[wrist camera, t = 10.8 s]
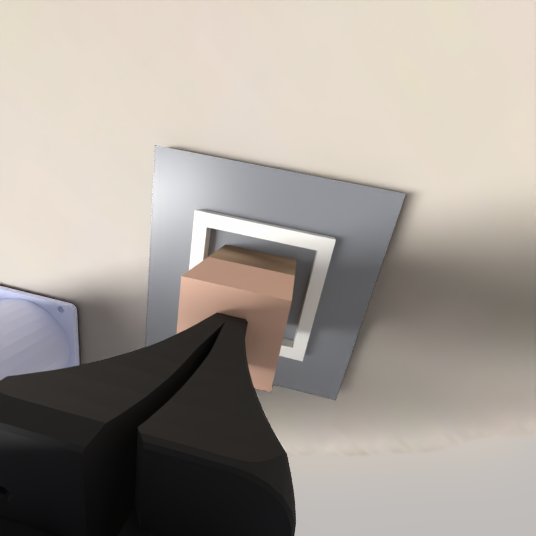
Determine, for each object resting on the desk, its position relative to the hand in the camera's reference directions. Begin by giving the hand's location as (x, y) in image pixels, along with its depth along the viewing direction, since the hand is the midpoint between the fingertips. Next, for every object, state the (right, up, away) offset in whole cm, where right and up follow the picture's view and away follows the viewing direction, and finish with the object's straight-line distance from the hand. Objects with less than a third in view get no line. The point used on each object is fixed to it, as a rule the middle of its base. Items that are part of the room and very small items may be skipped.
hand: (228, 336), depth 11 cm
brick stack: (+1, +2, +6) cm, 6 cm away
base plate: (+1, +2, +7) cm, 7 cm away
